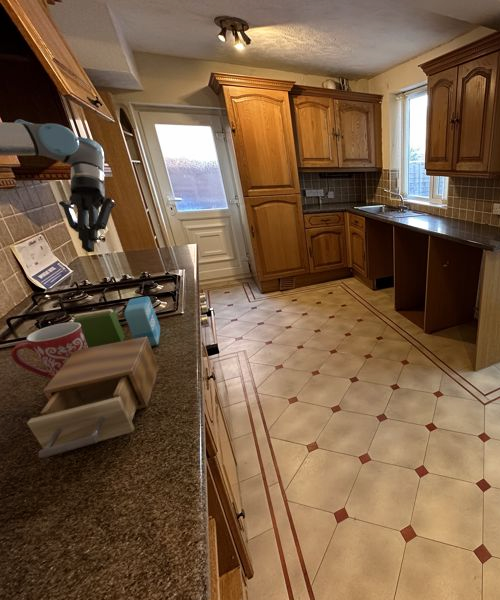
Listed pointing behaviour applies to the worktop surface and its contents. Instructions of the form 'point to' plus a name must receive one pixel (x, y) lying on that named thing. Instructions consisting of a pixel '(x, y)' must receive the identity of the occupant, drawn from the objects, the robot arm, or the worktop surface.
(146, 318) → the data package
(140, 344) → the cabinet
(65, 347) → the mug
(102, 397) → the drawer
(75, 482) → the worktop surface
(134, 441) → the worktop surface
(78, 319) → the green block
